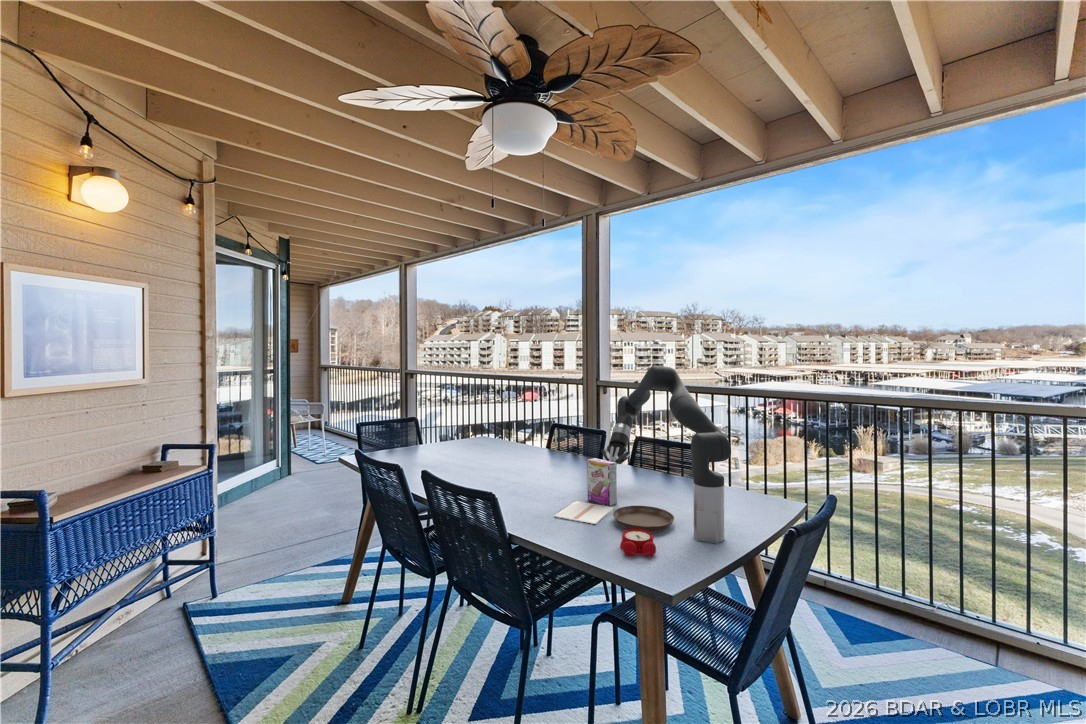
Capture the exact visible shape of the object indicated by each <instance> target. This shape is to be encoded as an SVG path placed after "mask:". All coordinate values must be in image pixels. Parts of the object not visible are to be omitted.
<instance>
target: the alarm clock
mask: <svg viewBox="0 0 1086 724" xmlns="http://www.w3.org/2000/svg"><path fill="white" fill-rule="evenodd" d="M652 533H653V532H648V531H646V530H642V529H623V532H622V535H621V542H620V544H619V546H620V549H621V550H622V551H623V553H624V555H626V556H628V557H633V556H636V555H638V556H644V557H648V558H649V557H653V556H654V555H655V554H656V552H657V548H656V544H655V543H654V535H653V534H652Z"/></svg>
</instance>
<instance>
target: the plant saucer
mask: <svg viewBox="0 0 1086 724" xmlns="http://www.w3.org/2000/svg"><path fill="white" fill-rule="evenodd" d="M612 516H613V518H614V520H615V521H616V522H617V523H618V524H619V525H620V526H621V527H622V528H625V530H629V529H642V530H646V531H648V532H650V533H657V532H658V533H659V532H663V531H664V530H666V529H668V528H669V527H670V526H671V525H672V524H673V522H674V521H675V516H674V514H672V512H669V511H668V510H665V509H663V508H660V507H655V506H648V505H628V506H626V505H625V506H623V507H622V506H621V507H619V508H617V509H614V510H613V511H612Z"/></svg>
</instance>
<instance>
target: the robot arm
mask: <svg viewBox="0 0 1086 724" xmlns="http://www.w3.org/2000/svg"><path fill="white" fill-rule="evenodd" d="M652 389H655V390H662V391H668V392H669V393H670V394H671V397H670V399H669V403H668V406H669V410H670V411H671V414H672V415H673V416H674V418H675V420H676V421H677V423H679V424H680V425H681V426H683V427H685V428H687V429H688V430H690V431H692V432H694V434H693V435H692V437H691V440H690V441H691V442H690V453H691V454H690V456H691V472H692V478H693V479H692V481H693V485H692V486H693V488H692V489H693V491H692V493H693V496H692V497H693V500H692V501H693V536H694V538H695V540H696V541H699V542H704V543H710V544H715V545H716V544H719V543H721V542H723V541H725V477H724V475H723V474H722V473H720V472H717V471H714V470H711V469H710V467H709V466H710V465H709V463H720V462H725V461H727V460H729V458H730V457H731V455H732V449H731V448H732V447H731V444H730V441H729V439H728V438H727V436H726V434H724V432H723V431H722V430H720V428H719V427H717V425H716V424H715V423H714V422H713V421H712V420H711V419H710V418H709V417H708V415H707V414H706V413H705V412H704V411H703V409H702V408H701V406H700V405H699V404H698V402H697V401H696V399H695V398H694V397H693V396H692V394H690V391H688V389H687V388H686V386H685V384H684V383H683V381H682V379H681V377H680V375H679V374H678V372H677V371H676V369H675V368H673V367H672V366H671V367H670V366H664V365H652V366H651V367H649V369H647V371H646V373H645V374H644V376H643V377H642V379H641V381H640V382H639V384H638V386H637V387H636V388H635V389H634V391H632V392H631V393H629V395H628V396H626V395H624V396H621V397H619V399H618V400H617V403H616V404H617V405H616V406H617V407H616V408H617V409H616V410H617V411H616V412H617V416H616V417H617V418H616V420H615V421H616V422H615V424H614V427H613V429H612V432H611V436H610V439H609V442H608V443H609V444H608V445H607V447H606V448H605V449H604V448H601V450H600V452H601V454H602V455H603V458H604V460H606V461H611V462H615V463H616V466H617V465H621V464H623V463H624V462H625V461H626V460H628V459H630V458H631V453H630V452H629V451H627V447H628V444H629V440H630V437H631V431H632V428H633V427H632V426H633V423H634V419H633V417H637V416H639V414H640V413H641V409H642V407H643V406H644V405H645V404H646V403H647V402H648V401H649V400H650V397H651V390H652ZM608 454H609V457H608Z"/></svg>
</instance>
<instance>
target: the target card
mask: <svg viewBox="0 0 1086 724" xmlns="http://www.w3.org/2000/svg"><path fill="white" fill-rule="evenodd" d="M613 509H614V510H615V506H614V507H613V506H610V507H609V506H606V505H603V504H595V503H588V502H582V501H577V500H576V501H573V502H572V503H571V504H569V505H568V506H566V507H565V508H564V509H562V510H561V511H559V512H558V513H555V515H554V516H557V517H561V518H566V519H571V520H575V521H574V522H576V521H580V522H579V523H581V522H586V523H585V524H587V523H591V524H590V525H592V524H596V525H597V524H599V523H600V522H601V521H602V520H603V519H604V518H606V517H607V516H608V515H609V514H610V513H612V512H613V511H614V510H613ZM612 510H613V511H612ZM608 513H609V514H608ZM607 514H608V515H607ZM606 515H607V516H606ZM601 519H602V520H601ZM571 520H570V521H571ZM600 520H601V521H600ZM599 521H600V522H599Z"/></svg>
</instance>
